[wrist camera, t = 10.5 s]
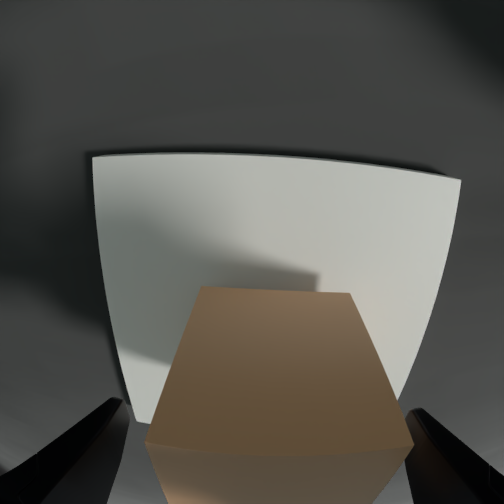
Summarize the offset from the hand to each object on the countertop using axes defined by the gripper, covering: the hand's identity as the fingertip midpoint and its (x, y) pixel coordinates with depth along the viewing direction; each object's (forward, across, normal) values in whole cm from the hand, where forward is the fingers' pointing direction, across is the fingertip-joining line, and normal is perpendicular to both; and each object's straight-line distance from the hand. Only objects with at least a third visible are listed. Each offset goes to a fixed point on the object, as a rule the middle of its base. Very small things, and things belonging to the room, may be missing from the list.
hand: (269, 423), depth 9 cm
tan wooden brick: (+4, 0, 0) cm, 4 cm away
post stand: (+6, 0, 0) cm, 6 cm away
